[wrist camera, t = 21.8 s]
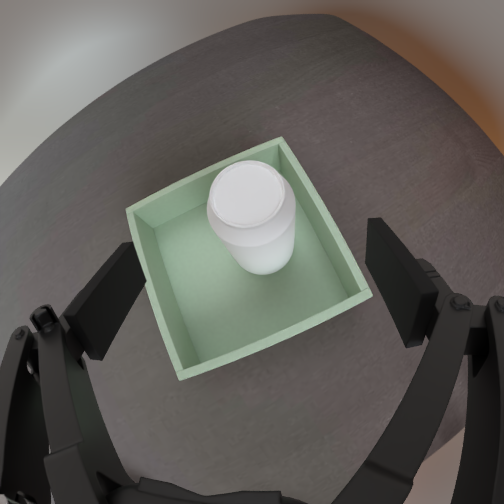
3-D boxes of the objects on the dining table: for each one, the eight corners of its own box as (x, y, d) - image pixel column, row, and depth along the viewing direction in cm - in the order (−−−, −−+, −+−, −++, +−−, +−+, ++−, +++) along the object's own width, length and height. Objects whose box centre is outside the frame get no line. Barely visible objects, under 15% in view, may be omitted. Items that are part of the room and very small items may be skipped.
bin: (356, 303, 27) (373, 295, 22) (200, 372, 27) (179, 380, 22) (283, 167, 33) (281, 135, 27) (149, 228, 33) (125, 208, 27)
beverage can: (275, 209, 30) (265, 138, 19) (305, 258, 28) (314, 207, 17) (223, 236, 30) (185, 179, 19) (250, 288, 28) (224, 256, 17)
